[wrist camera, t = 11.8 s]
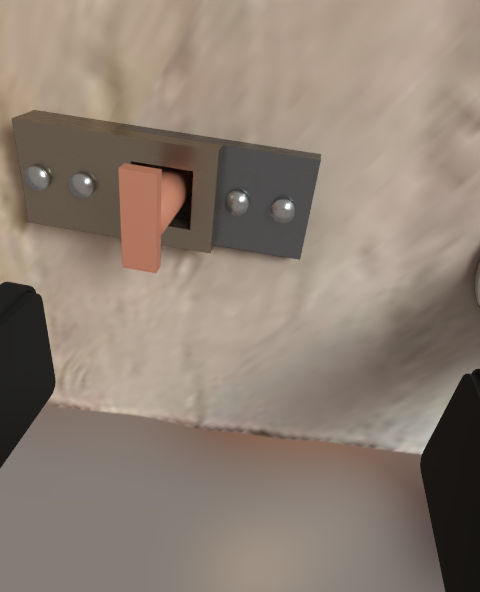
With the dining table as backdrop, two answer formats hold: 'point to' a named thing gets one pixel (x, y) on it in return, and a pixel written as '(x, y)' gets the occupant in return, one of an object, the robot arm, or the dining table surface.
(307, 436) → the dining table surface
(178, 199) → the orange t-shaped block
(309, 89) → the dining table surface
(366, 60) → the dining table surface
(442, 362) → the dining table surface
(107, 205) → the studded slotted plate
